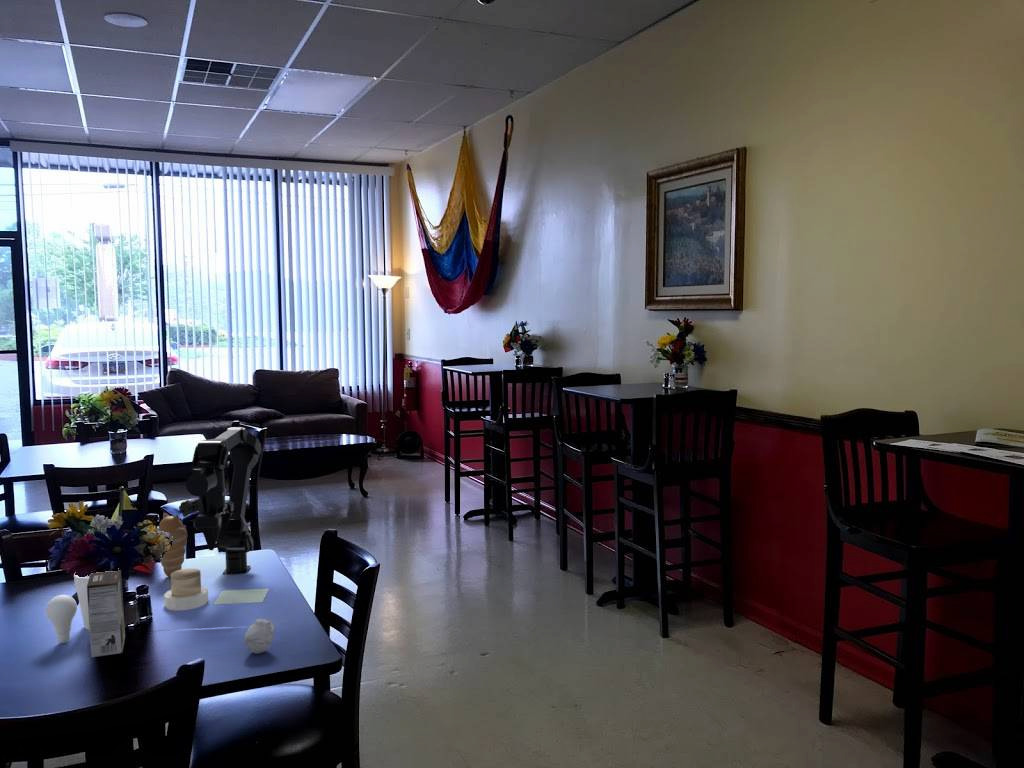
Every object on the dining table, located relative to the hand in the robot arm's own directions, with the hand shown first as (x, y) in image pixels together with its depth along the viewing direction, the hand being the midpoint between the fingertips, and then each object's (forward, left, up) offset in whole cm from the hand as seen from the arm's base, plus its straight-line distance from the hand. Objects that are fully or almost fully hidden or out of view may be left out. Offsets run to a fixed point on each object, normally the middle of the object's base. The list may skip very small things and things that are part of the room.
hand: (215, 545), depth 215 cm
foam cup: (+22, -22, -12) cm, 33 cm away
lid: (+11, -5, -9) cm, 15 cm away
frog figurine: (+43, +19, -12) cm, 49 cm away
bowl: (+11, -5, -12) cm, 17 cm away
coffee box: (+36, -15, -12) cm, 41 cm away
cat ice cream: (-12, -15, -12) cm, 23 cm away
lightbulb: (+32, -26, -12) cm, 43 cm away
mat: (+8, +8, -12) cm, 16 cm away
